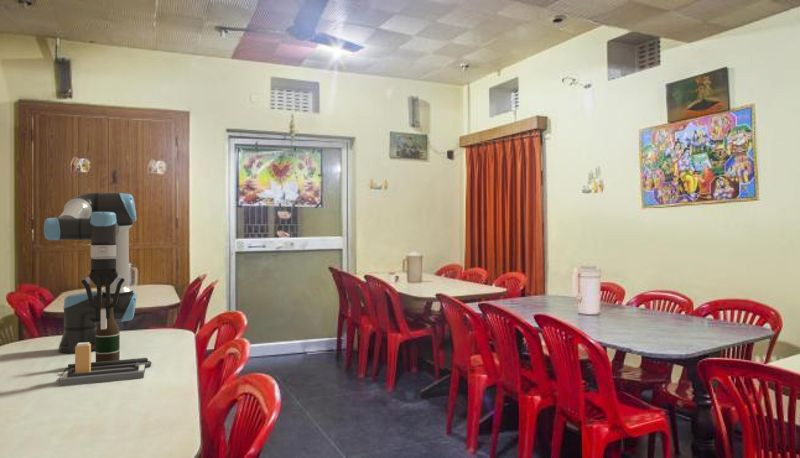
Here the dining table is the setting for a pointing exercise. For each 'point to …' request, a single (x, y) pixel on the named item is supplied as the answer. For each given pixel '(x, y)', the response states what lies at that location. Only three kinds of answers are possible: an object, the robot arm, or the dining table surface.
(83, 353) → the block
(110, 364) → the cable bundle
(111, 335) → the beer bottle
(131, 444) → the dining table surface
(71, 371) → the grey rectangular tray
